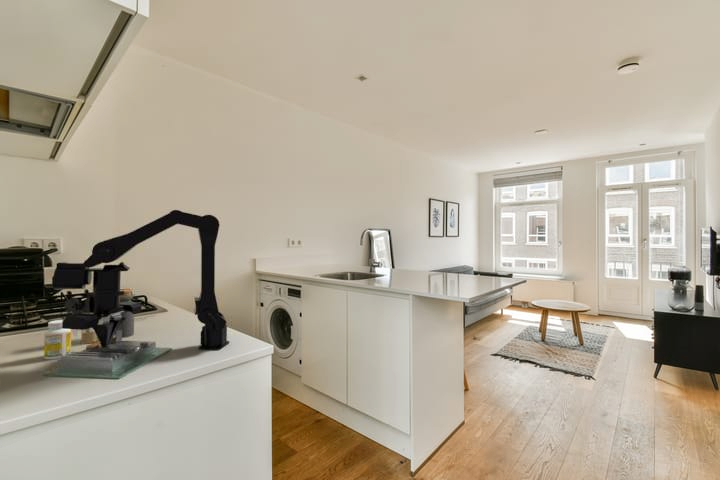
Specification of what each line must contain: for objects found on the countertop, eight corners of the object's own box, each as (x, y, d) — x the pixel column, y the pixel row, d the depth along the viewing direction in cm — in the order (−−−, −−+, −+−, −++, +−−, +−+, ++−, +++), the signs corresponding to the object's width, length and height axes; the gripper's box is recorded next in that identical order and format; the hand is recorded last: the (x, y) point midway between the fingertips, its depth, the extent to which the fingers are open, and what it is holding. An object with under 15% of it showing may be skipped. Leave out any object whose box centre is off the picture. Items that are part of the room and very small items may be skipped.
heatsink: (171, 350, 94) (171, 334, 94) (119, 378, 75) (119, 359, 75) (110, 347, 96) (110, 332, 96) (43, 375, 77) (43, 356, 77)
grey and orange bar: (143, 348, 87) (143, 344, 87) (134, 353, 83) (134, 348, 83) (96, 346, 87) (96, 342, 87) (85, 350, 84) (85, 346, 84)
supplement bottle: (51, 361, 85) (51, 325, 85) (39, 358, 87) (39, 322, 87) (75, 354, 90) (75, 320, 90) (63, 351, 92) (64, 318, 92)
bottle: (108, 336, 106) (108, 291, 106) (126, 331, 111) (126, 288, 111) (119, 339, 104) (119, 292, 103) (138, 334, 109) (138, 289, 109)
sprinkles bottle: (98, 342, 100) (98, 299, 100) (79, 345, 98) (79, 300, 97) (100, 338, 104) (100, 296, 104) (81, 340, 101) (82, 298, 101)
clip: (121, 340, 93) (121, 330, 93) (106, 346, 88) (106, 335, 88) (111, 339, 93) (111, 330, 93) (96, 345, 88) (96, 335, 88)
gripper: (107, 281, 95) (106, 334, 95) (41, 292, 77) (39, 357, 77) (143, 283, 95) (141, 336, 95) (85, 295, 76) (83, 360, 76)
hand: (104, 346), depth 86 cm, fingers closed, pressing on grey and orange bar
